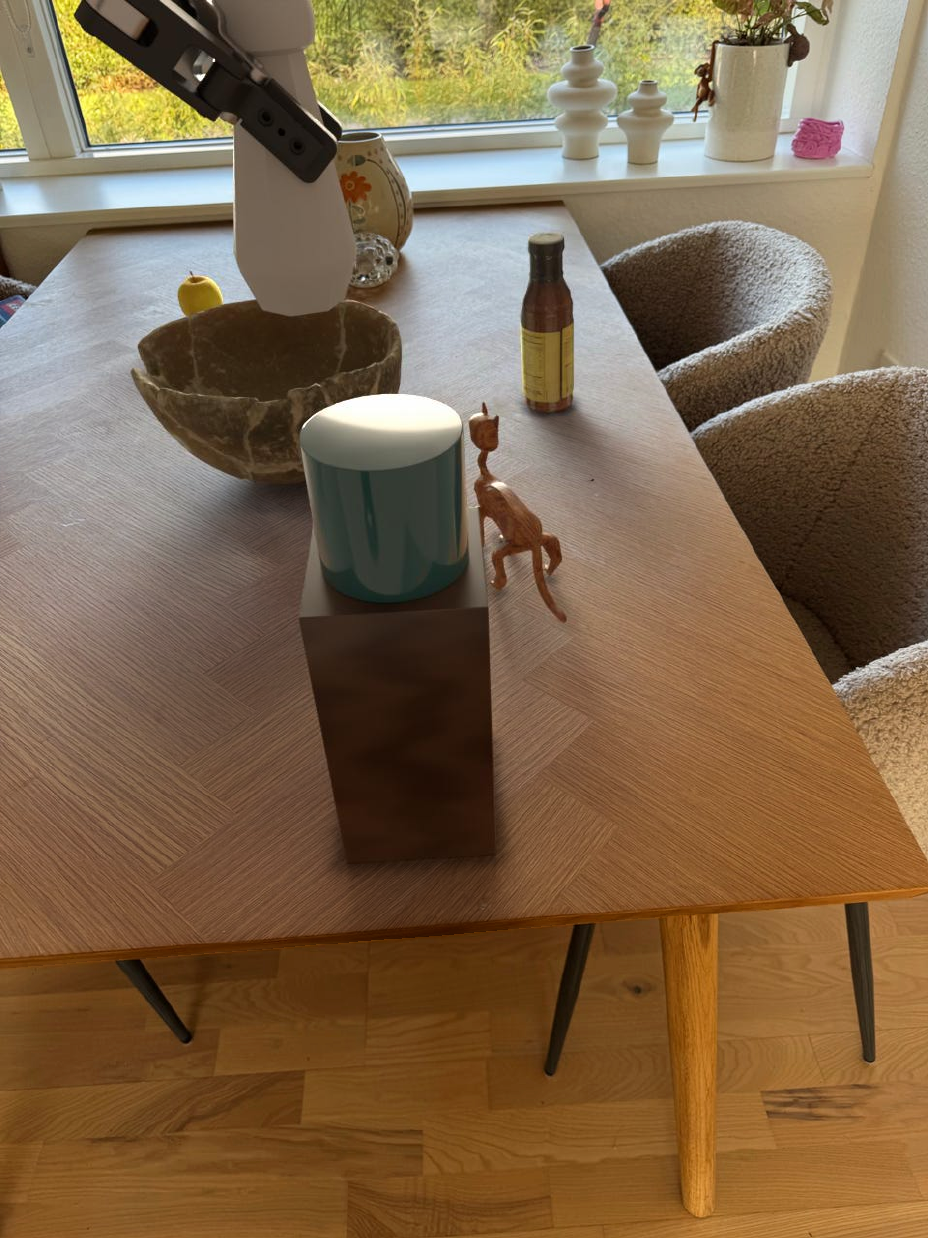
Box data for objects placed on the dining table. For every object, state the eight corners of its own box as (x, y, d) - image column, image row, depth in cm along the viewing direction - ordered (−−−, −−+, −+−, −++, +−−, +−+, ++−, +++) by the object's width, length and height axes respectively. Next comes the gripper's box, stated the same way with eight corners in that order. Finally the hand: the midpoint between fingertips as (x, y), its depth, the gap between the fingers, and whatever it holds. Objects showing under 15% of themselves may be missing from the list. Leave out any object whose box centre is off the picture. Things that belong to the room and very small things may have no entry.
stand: (346, 863, 61) (298, 618, 48) (354, 752, 69) (314, 515, 56) (496, 855, 61) (488, 607, 48) (487, 745, 69) (478, 505, 56)
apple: (195, 317, 141) (183, 264, 136) (234, 319, 140) (224, 265, 135) (177, 334, 136) (164, 279, 131) (217, 335, 135) (206, 280, 130)
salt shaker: (264, 281, 48) (214, -22, 40) (371, 281, 47) (342, -26, 39) (227, 321, 44) (162, -11, 36) (345, 323, 43) (306, -16, 35)
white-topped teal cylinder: (472, 598, 49) (466, 465, 44) (314, 608, 49) (290, 475, 44) (464, 491, 57) (458, 369, 52) (329, 498, 57) (310, 377, 52)
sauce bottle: (558, 388, 116) (562, 223, 104) (582, 408, 112) (590, 238, 99) (511, 399, 115) (510, 233, 102) (534, 420, 110) (535, 248, 98)
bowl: (149, 550, 92) (106, 412, 82) (174, 426, 112) (142, 305, 103) (425, 518, 94) (414, 380, 85) (400, 403, 115) (389, 282, 105)
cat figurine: (598, 622, 80) (607, 484, 71) (530, 644, 78) (531, 505, 69) (507, 521, 93) (506, 395, 84) (447, 538, 91) (440, 410, 82)
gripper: (-82, -336, 27) (379, 116, 34) (61, -267, 38) (386, 64, 46) (-181, -96, 30) (261, 269, 38) (-22, -97, 41) (294, 185, 49)
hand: (327, 155), depth 42 cm, fingers closed on salt shaker, 3 cm apart
